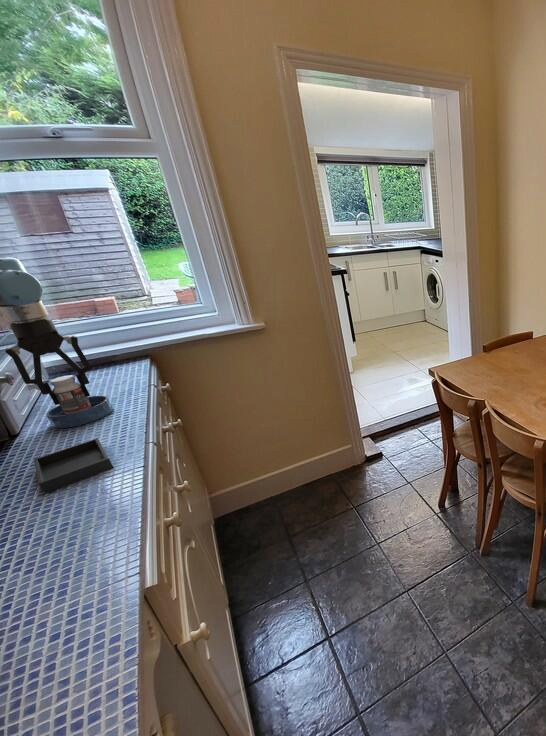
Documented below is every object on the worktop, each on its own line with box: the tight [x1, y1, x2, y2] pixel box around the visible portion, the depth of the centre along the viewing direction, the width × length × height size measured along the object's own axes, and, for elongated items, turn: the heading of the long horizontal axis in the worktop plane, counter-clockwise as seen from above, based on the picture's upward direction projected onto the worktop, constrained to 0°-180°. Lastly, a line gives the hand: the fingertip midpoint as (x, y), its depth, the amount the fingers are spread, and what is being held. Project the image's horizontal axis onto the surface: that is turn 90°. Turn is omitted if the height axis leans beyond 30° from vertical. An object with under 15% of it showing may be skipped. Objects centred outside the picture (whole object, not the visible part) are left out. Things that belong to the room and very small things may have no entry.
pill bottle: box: [49, 374, 91, 414], centre depth 116 cm, size 6×6×10 cm
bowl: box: [45, 395, 114, 429], centre depth 118 cm, size 13×13×4 cm
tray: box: [33, 437, 115, 494], centre depth 95 cm, size 15×11×3 cm
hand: (72, 399), depth 116 cm, fingers closed on pill bottle, 6 cm apart
